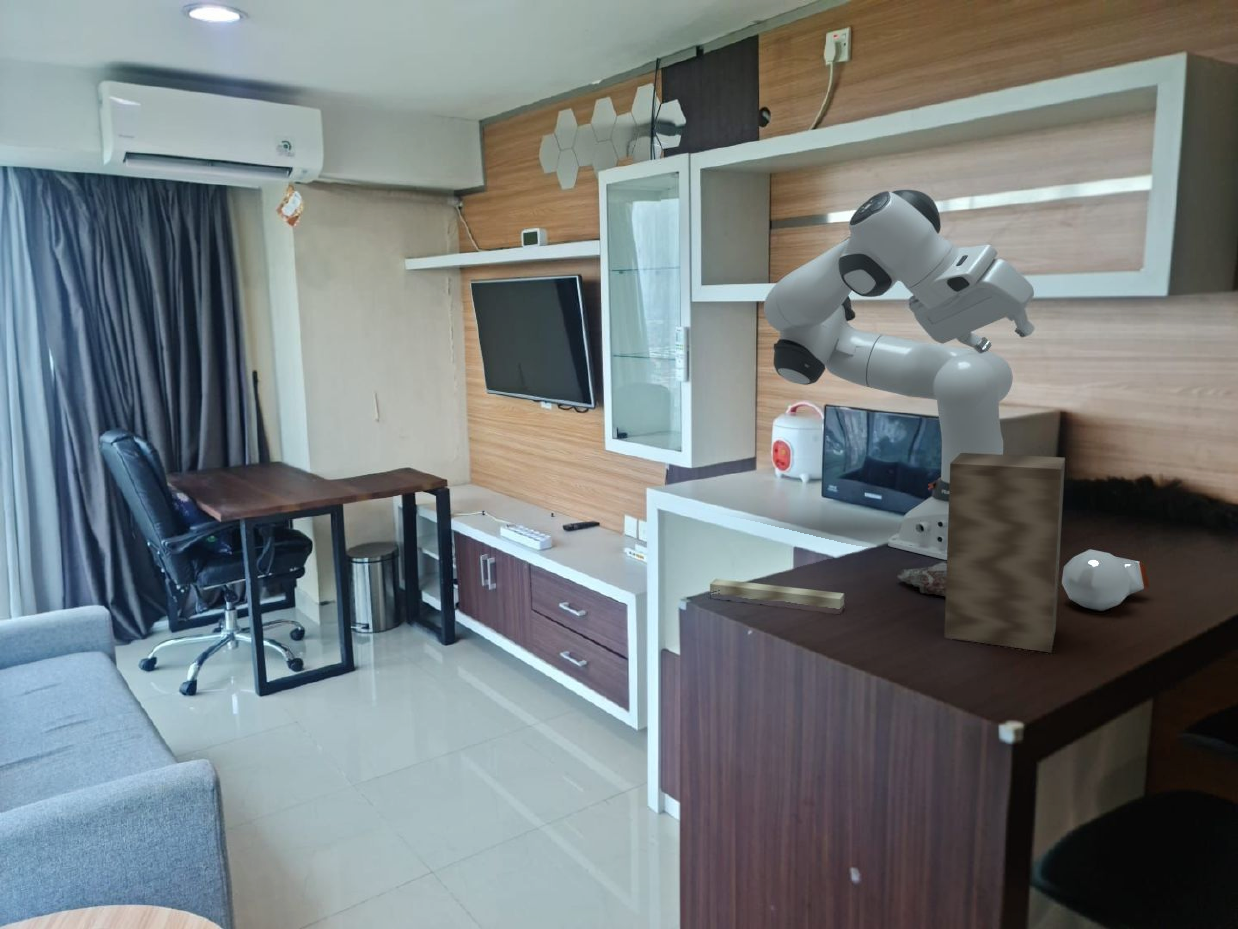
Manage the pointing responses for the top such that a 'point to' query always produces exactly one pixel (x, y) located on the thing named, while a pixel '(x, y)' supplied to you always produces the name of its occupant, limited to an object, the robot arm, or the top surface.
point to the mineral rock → (927, 578)
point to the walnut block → (1004, 549)
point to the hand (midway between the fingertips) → (1007, 341)
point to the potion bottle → (1102, 579)
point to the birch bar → (778, 593)
